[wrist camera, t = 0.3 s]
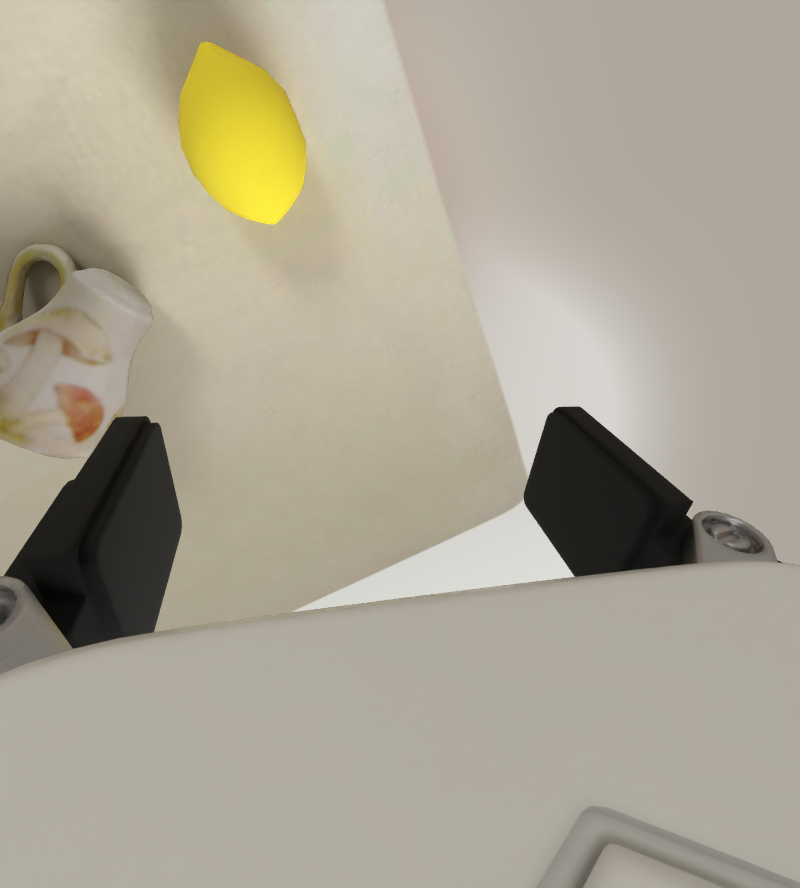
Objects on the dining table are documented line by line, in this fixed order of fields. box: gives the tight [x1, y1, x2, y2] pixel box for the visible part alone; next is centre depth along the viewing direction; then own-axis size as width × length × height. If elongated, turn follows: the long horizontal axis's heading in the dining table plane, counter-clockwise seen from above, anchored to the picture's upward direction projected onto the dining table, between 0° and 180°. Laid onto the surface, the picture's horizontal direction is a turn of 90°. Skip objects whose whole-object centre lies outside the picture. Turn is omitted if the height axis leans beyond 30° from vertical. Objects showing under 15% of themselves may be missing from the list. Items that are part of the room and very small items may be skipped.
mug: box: [0, 244, 153, 459], centre depth 23 cm, size 8×10×10 cm
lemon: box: [178, 42, 306, 224], centre depth 20 cm, size 7×5×5 cm
